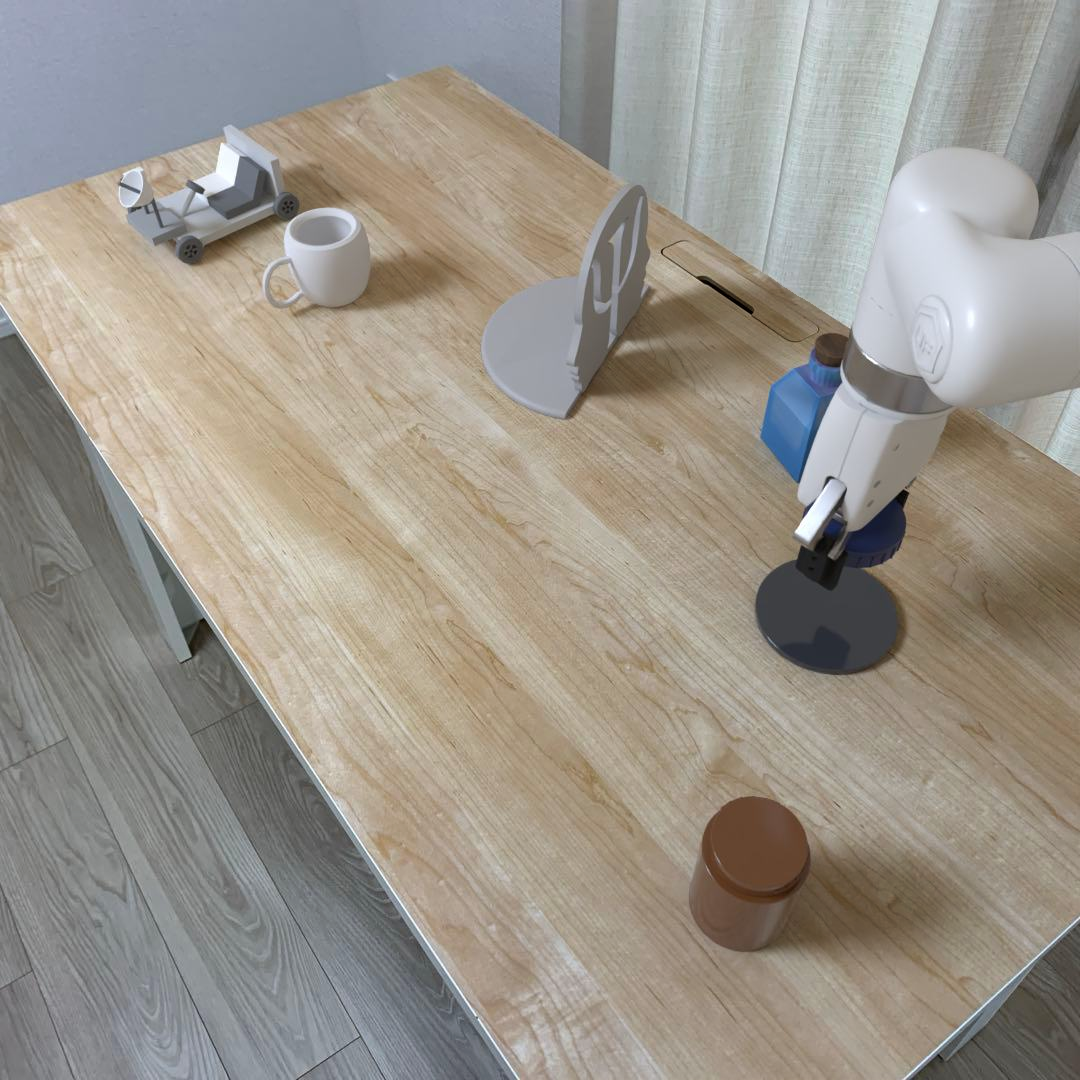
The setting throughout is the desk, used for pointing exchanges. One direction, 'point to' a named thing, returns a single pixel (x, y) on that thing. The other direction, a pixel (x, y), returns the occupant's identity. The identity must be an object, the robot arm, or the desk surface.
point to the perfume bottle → (802, 403)
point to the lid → (872, 536)
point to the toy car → (210, 199)
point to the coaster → (826, 619)
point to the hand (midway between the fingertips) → (846, 546)
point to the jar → (749, 873)
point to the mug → (324, 258)
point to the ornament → (572, 314)
